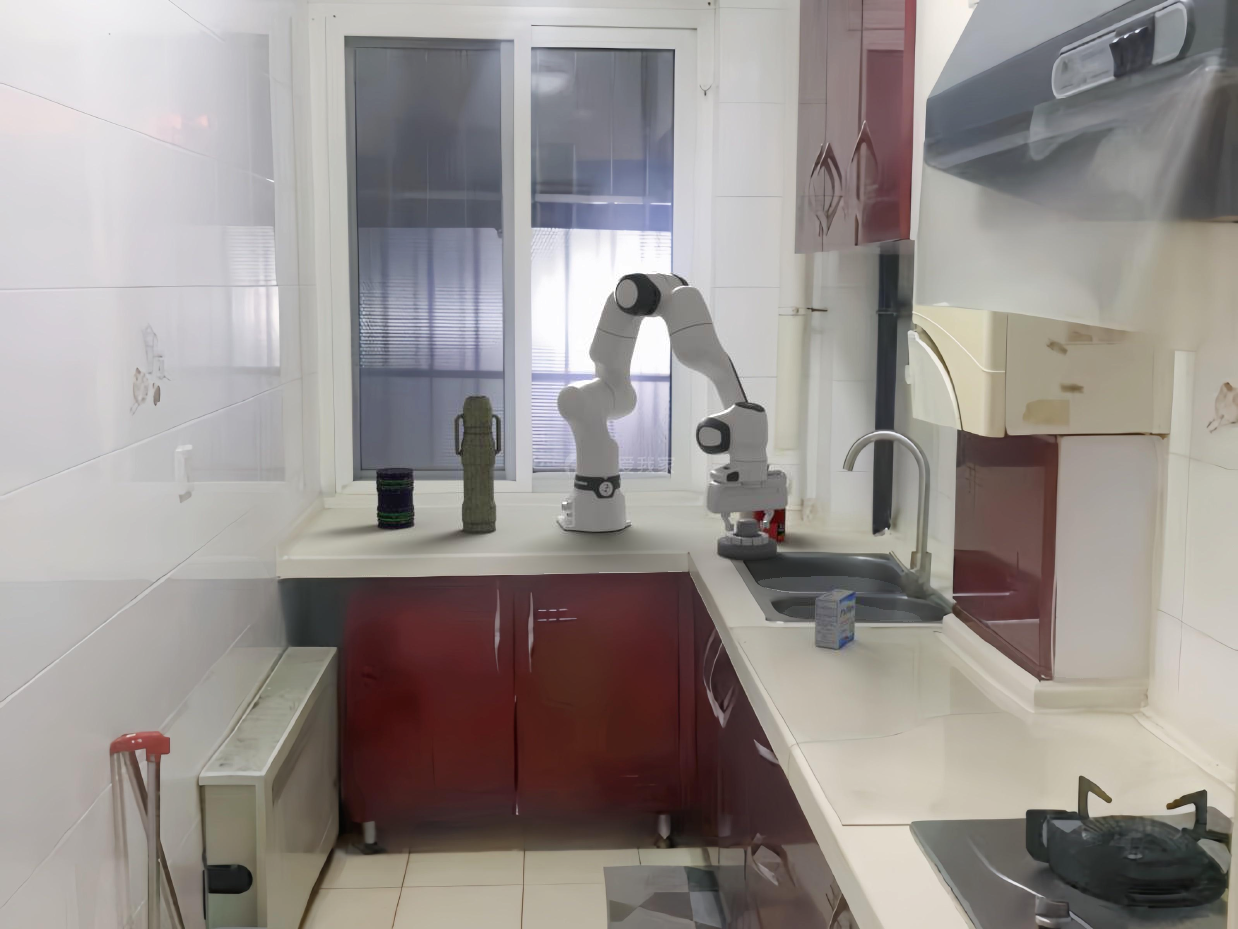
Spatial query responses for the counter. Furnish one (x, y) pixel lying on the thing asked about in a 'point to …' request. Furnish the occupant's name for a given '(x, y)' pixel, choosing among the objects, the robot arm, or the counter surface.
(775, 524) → the canned food
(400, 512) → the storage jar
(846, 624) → the medicine box
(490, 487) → the thermos
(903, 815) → the counter surface
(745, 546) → the grey round peg base
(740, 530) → the cap
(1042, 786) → the counter surface
